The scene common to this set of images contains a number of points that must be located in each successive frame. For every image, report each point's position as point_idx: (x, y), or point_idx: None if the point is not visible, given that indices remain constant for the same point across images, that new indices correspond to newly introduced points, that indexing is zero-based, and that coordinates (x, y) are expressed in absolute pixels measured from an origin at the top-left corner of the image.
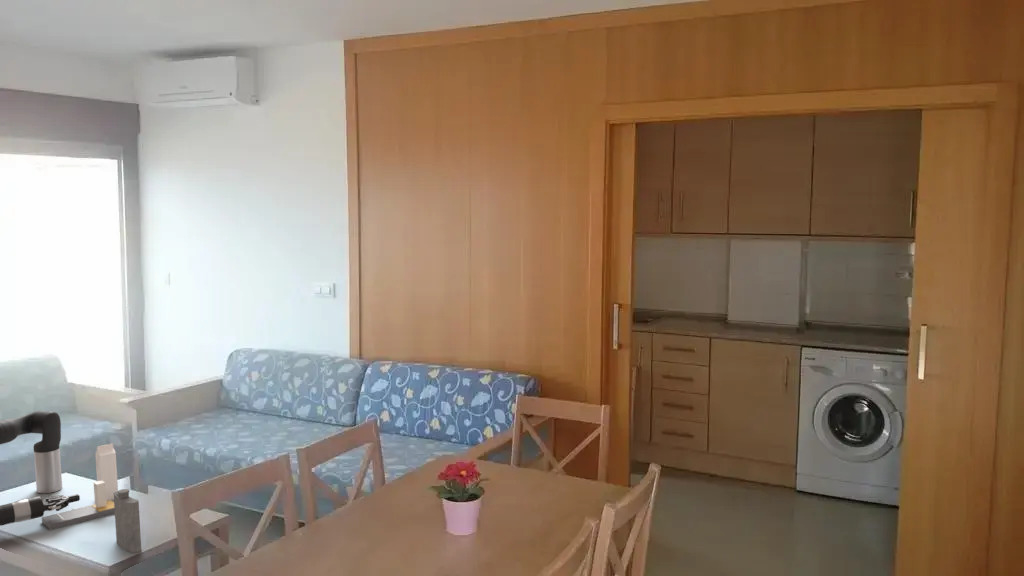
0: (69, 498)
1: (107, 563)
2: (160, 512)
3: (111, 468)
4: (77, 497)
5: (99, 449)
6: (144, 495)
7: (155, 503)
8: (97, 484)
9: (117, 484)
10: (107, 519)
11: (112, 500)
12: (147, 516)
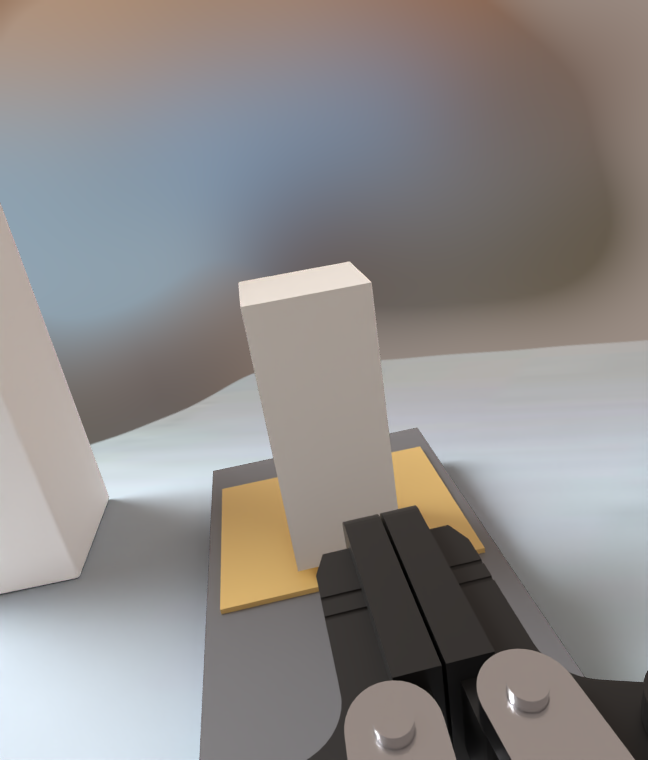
0: (511, 656)
1: None
2: (546, 356)
3: (2, 264)
4: (463, 542)
5: None
6: (197, 411)
7: None
8: (368, 282)
9: (72, 401)
10: (594, 544)
11: (226, 485)
12: (599, 384)
